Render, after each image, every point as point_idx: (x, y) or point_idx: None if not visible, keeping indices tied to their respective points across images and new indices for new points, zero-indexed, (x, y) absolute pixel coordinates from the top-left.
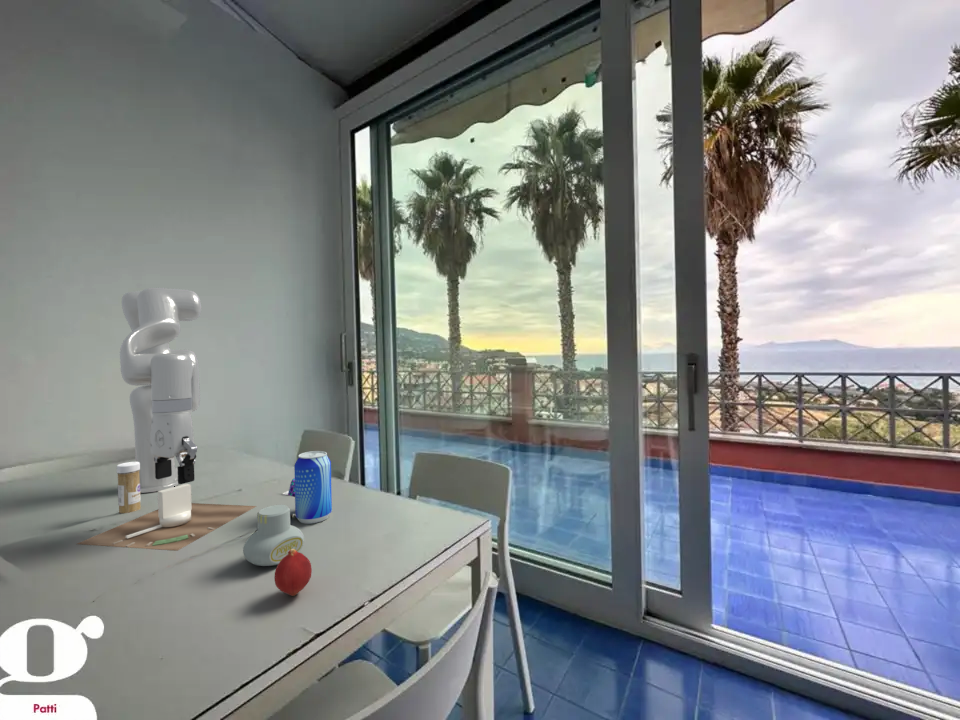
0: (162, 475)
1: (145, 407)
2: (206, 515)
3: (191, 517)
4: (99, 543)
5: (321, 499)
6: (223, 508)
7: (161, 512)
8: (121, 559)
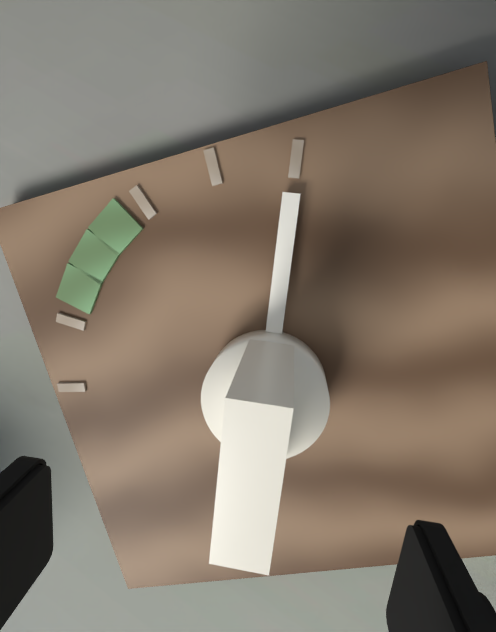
0: (407, 575)
1: None
2: None
3: None
4: (369, 116)
5: None
6: None
7: (261, 350)
8: (183, 118)
